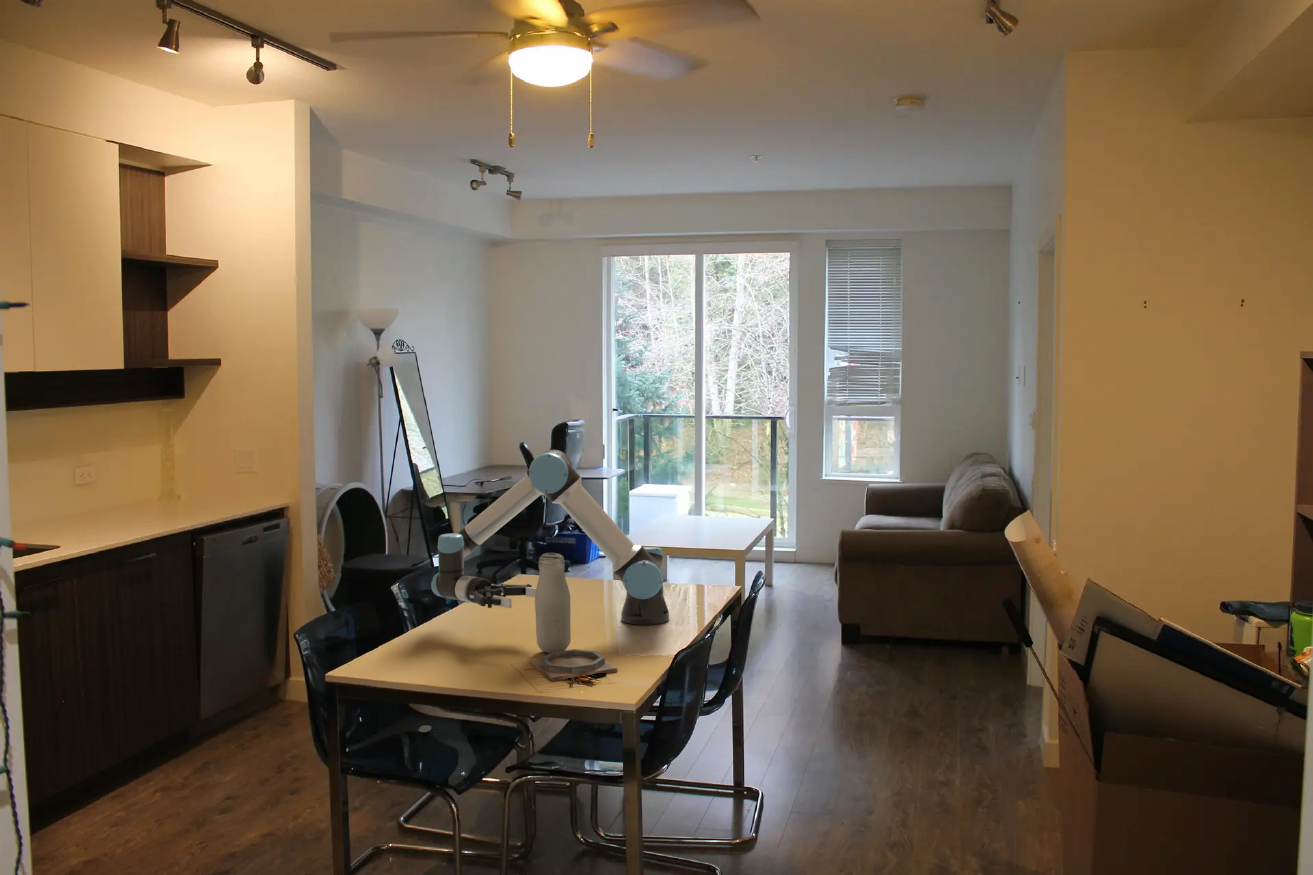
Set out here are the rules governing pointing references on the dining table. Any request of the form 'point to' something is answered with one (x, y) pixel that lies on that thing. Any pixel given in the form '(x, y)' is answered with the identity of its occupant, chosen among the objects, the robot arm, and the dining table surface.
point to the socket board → (572, 664)
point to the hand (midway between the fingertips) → (527, 598)
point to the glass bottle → (552, 605)
